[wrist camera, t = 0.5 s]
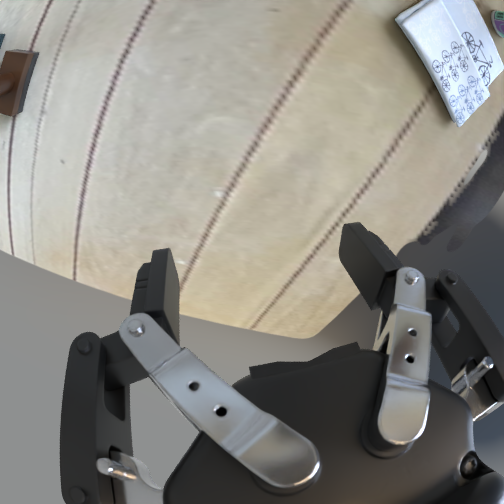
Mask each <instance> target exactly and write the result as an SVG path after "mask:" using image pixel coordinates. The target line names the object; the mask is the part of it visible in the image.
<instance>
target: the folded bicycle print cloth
mask: <svg viewBox="0 0 504 504" xmlns="http://www.w3.org/2000/svg"><path fill="white" fill-rule="evenodd" d="M395 21H396V22H397V23H398V25H399V26H400V28H401V29H402V30H403V32H404V33H405V35H406V36H407V38H408V39H409V41H410V42H411V44H412V45H413V47H414V48H415V50H416V52H417V53H418V55H419V56H420V58H421V60H422V61H423V63H424V65H425V67H426V69H427V70H428V72H429V74H430V75H431V77H432V79H433V81H434V83H435V85H436V87H437V89H438V91H439V93H440V95H441V97H442V99H443V101H444V103H445V105H446V107H447V109H448V111H449V114H450V116H451V118H452V120H453V122H454V123H455V122H456V124H457V127H460V126H461V125H462V124H463V123H464V122H465V121H466V120H467V119H468V117H469V116H470V115H471V114H472V113H473V112H474V111H475V110H476V109H477V108H478V107H479V106H480V105H481V104H482V103H483V102H484V101H485V100H486V99H487V98H488V97H490V93H489V92H488V86H489V85H490V83H491V82H492V81H493V80H494V79H495V78H496V77H497V75H498V74H500V73H501V72H502V70H503V69H504V65H503V63H502V61H501V59H500V56H499V54H498V51H497V49H496V47H495V44H494V42H493V39H492V37H491V35H490V33H489V30H488V28H487V26H486V24H485V22H484V20H483V18H482V16H481V14H480V12H479V10H478V8H477V6H476V5H475V3H474V1H473V0H422V1H420V2H419V3H417V4H416V5H414V6H413V7H411V8H409V9H407V10H406V11H404V12H402V13H401V14H399V15H398V17H397V18H395Z"/></svg>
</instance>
